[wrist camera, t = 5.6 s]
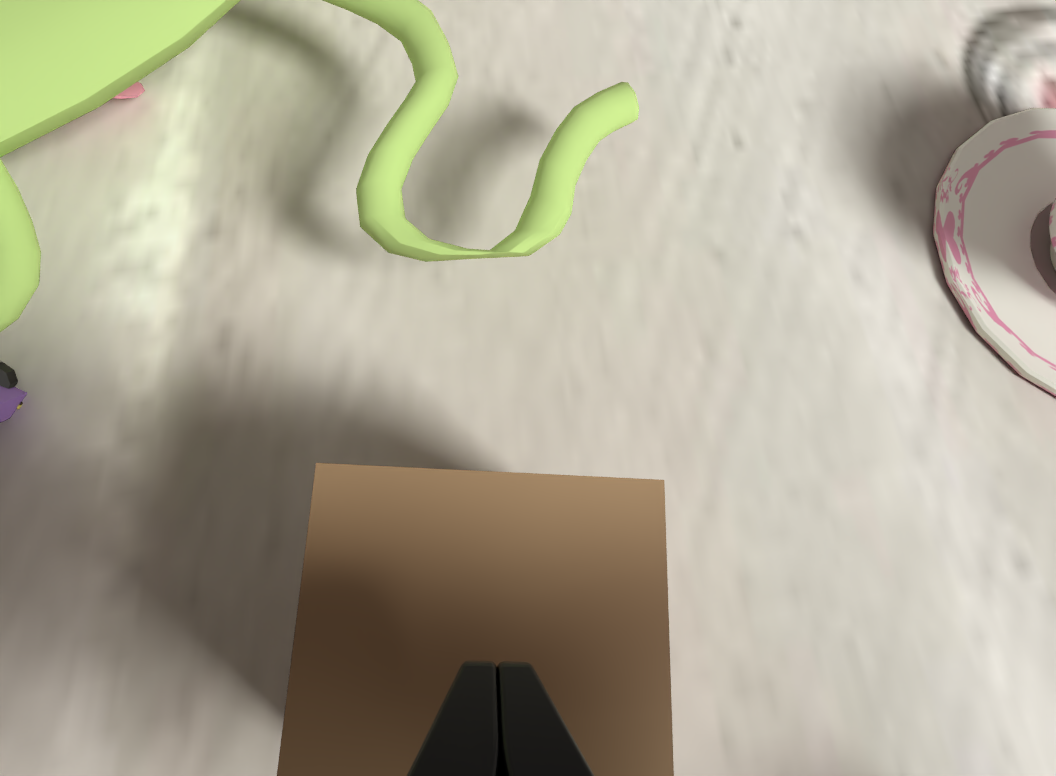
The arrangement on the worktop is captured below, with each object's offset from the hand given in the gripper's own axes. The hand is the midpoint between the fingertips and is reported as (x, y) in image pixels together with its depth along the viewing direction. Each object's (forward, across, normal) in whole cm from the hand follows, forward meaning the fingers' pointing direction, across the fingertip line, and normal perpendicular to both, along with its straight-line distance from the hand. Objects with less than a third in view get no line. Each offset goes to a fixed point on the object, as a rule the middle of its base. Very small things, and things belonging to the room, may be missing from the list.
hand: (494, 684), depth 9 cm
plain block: (+8, 0, +7) cm, 11 cm away
